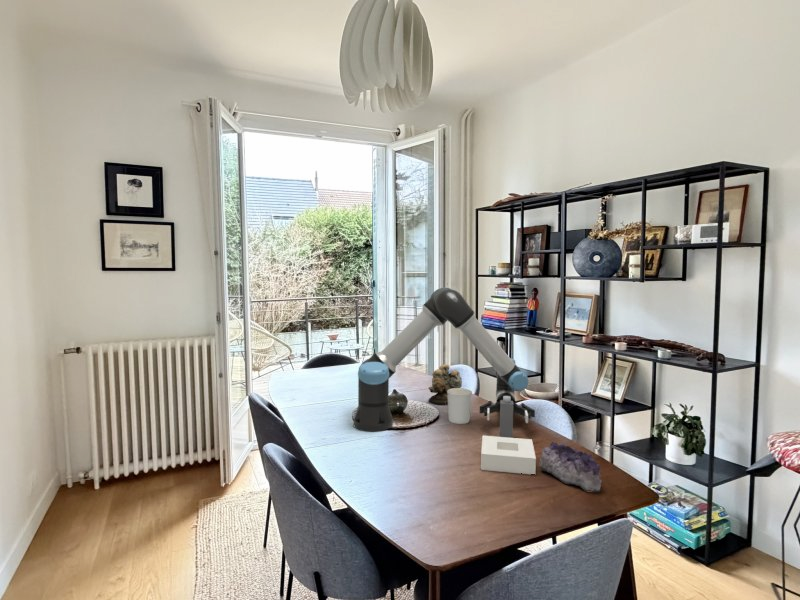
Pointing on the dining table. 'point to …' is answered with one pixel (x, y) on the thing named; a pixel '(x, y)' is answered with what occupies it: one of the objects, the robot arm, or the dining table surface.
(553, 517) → the dining table surface
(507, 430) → the plug
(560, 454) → the geode
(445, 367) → the olive rock sculpture
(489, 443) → the socket block
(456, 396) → the candle holder
